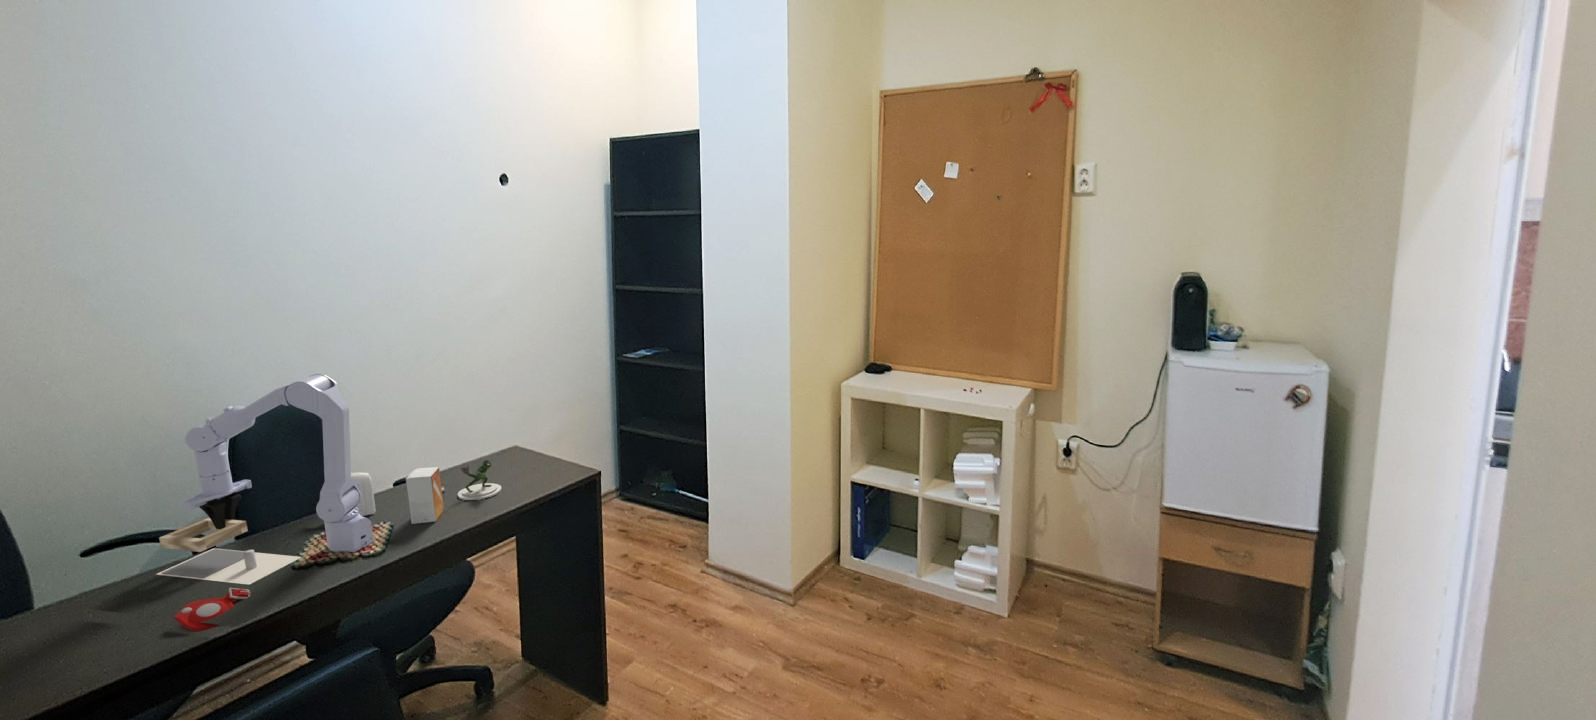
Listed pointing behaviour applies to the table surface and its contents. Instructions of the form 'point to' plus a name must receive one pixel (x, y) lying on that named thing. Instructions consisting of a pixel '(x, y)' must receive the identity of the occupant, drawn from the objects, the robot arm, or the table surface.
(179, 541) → the beige rectangular frame
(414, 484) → the small box
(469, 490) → the monster figurine
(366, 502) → the photo printer
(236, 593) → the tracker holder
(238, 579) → the board
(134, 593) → the table surface
